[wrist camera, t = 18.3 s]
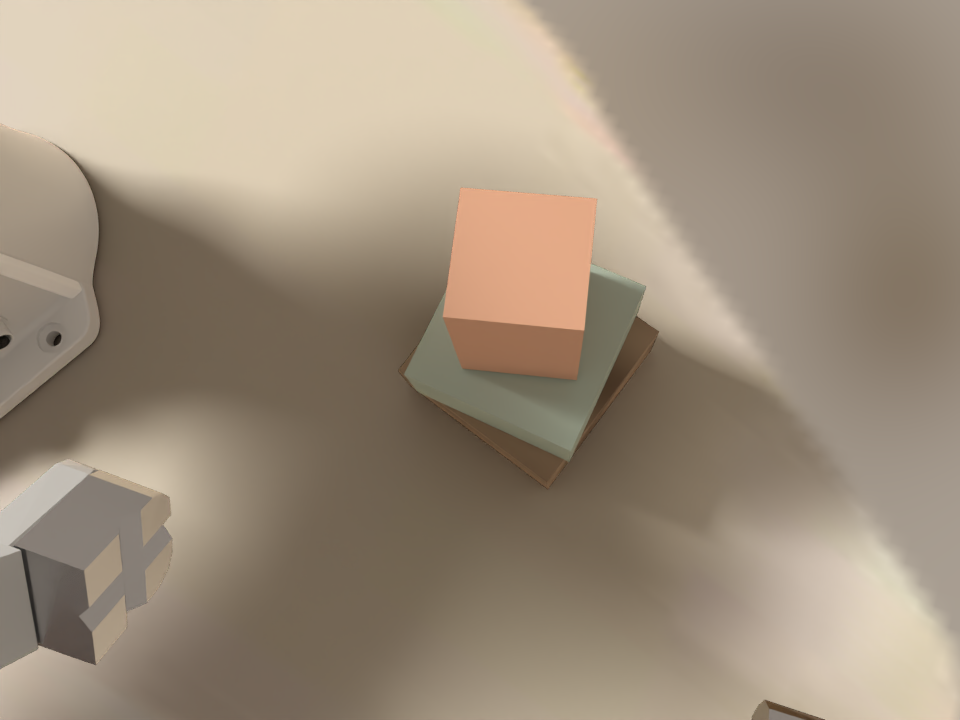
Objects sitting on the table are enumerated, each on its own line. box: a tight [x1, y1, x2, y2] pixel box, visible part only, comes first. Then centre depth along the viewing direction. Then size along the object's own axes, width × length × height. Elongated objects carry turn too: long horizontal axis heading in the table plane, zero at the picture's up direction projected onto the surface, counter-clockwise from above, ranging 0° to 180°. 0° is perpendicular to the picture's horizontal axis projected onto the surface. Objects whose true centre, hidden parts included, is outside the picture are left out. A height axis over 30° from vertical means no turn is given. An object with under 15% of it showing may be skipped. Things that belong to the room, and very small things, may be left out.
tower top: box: [404, 264, 646, 462], centre depth 41 cm, size 8×8×4 cm
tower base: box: [398, 316, 659, 489], centre depth 45 cm, size 9×9×4 cm
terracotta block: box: [443, 188, 597, 380], centre depth 35 cm, size 5×5×8 cm
